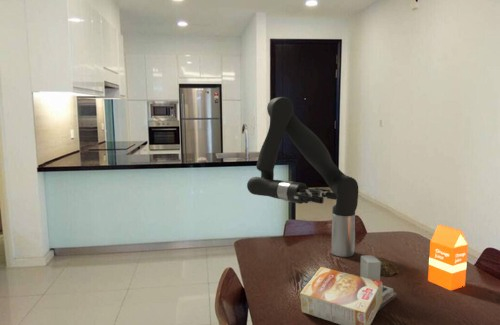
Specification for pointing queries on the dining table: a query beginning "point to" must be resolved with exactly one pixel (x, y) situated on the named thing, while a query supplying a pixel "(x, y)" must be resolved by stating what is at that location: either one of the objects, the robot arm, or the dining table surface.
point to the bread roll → (387, 267)
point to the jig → (387, 296)
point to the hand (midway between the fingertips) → (330, 198)
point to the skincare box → (370, 267)
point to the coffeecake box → (341, 297)
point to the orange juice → (448, 258)
